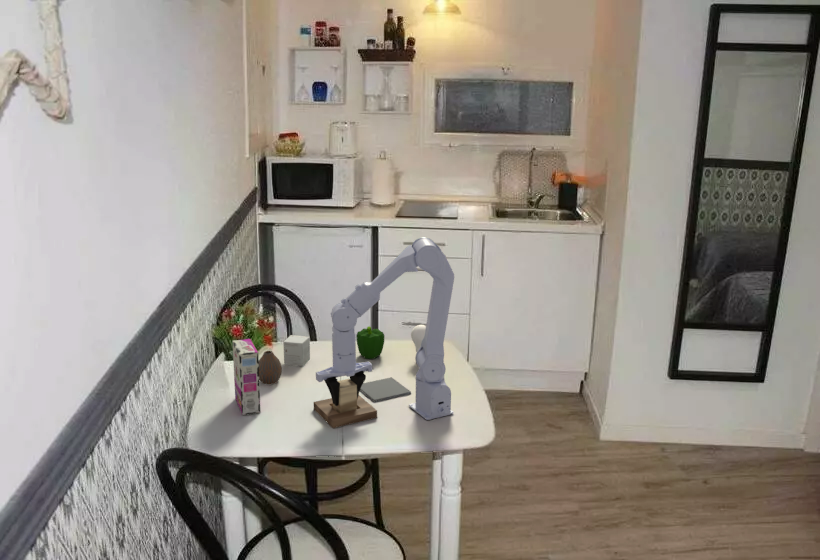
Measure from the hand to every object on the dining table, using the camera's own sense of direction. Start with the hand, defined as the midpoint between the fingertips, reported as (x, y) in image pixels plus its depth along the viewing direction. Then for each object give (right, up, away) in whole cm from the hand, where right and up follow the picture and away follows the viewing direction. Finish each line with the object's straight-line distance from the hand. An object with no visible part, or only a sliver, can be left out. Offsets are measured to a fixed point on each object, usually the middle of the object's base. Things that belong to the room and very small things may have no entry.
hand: (344, 402), depth 189 cm
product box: (-17, +6, +34) cm, 38 cm away
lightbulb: (+20, +7, +36) cm, 41 cm away
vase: (-22, +2, +20) cm, 30 cm away
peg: (0, -3, +1) cm, 3 cm away
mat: (+9, +1, +15) cm, 17 cm away
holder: (0, -3, +1) cm, 3 cm away
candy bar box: (-25, -2, +5) cm, 26 cm away
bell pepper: (+4, +7, +39) cm, 40 cm away
